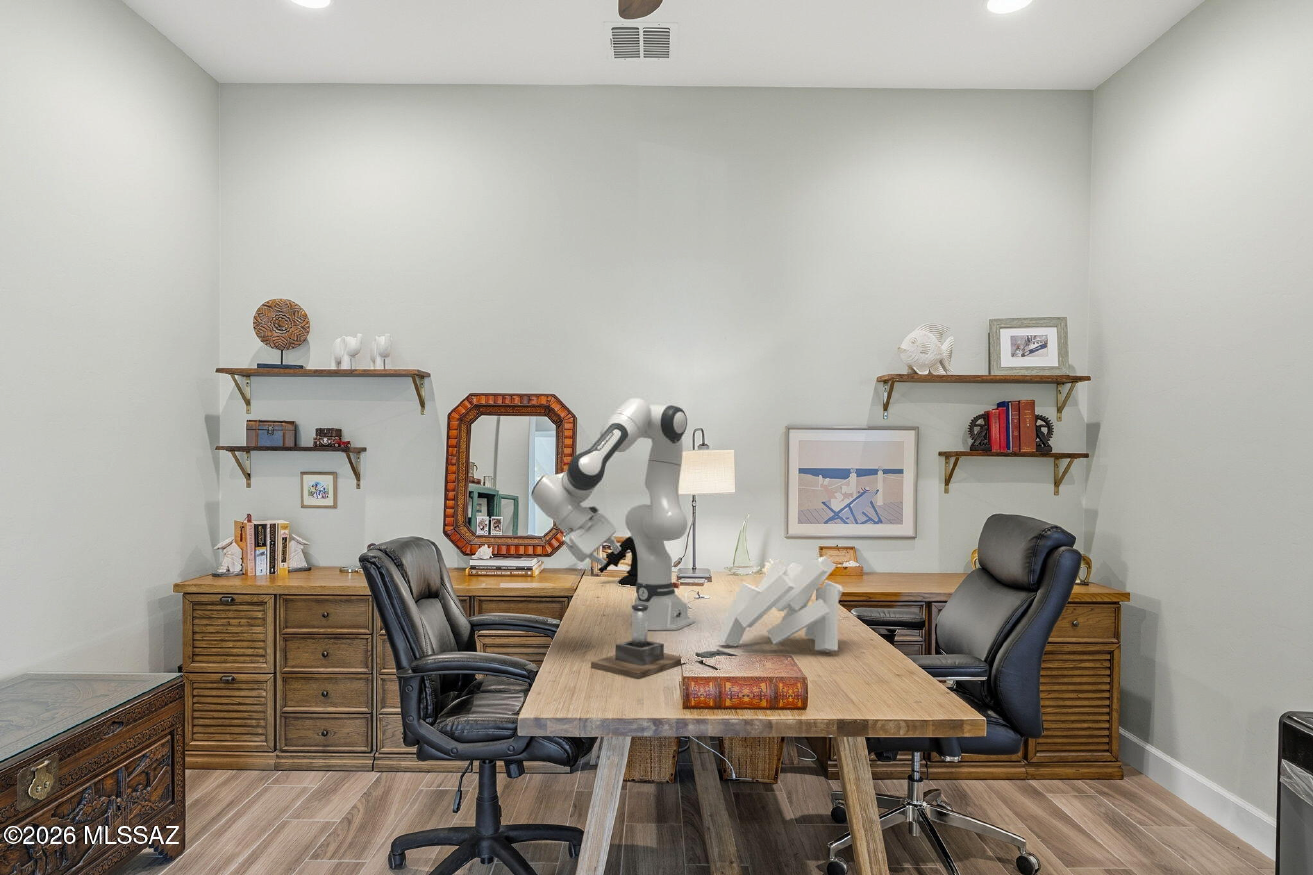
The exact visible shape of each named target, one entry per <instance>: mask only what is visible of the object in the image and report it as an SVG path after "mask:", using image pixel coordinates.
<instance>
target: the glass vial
mask: <svg viewBox="0 0 1313 875" xmlns="http://www.w3.org/2000/svg"><path fill="white" fill-rule="evenodd" d="M648 608H649V606H648V605H644V604H635V605H634V604H632V605H631V609H632V614H631V615H632V618H631V619H632V623H631V626H632V627H631V628H632V629H631V634H632V635H631V640H632V646H634V647H638V648H644V647H647V641H648V630H647V627H648Z"/></svg>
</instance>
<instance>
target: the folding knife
mask: <svg viewBox="0 0 1313 875" xmlns="http://www.w3.org/2000/svg"><path fill="white" fill-rule="evenodd" d="M695 656H697V657H701V658H713V657H716V656H739V655H737V654H735V653H731V652H727V651H724V650H722V649H716V650H705V651H702V652H698V651H695V655H694V657H695Z"/></svg>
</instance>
